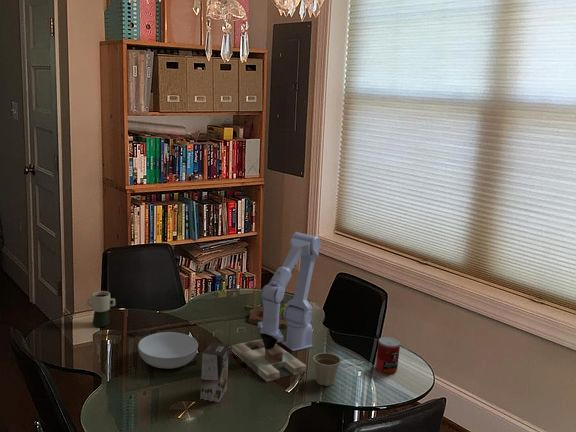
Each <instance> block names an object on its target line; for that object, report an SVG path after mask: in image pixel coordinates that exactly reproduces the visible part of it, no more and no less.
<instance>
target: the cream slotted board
mask: <svg viewBox="0 0 576 432" xmlns="http://www.w3.org/2000/svg"><path fill="white" fill-rule="evenodd" d="M275 347H276V348H278V349H279V350H281V351H282V352H283V359H282V362H277V363H273V364H271V363H270V362H269V361H267V360H266V359H265V347H264V342H263V340H262V338H261V339H260V338H259V339H256V340H250V341H246V342H240V343H235V344H231V345H230V352H231V351H232V352H233V353H234V354H235V355H234V354H233V353H232V352H231V353H232V354H233V355H234V356H236V355H237V356H238V357H239V358H240V359H241V360H240V359H239V358H238V357H237V356H236V357H237V358H238V359H239V360H240V361H241V362H243V361H244V362H245V363H246V364H247V365H246V364H245V363H244V362H243V363H244V364H245V365H246V366H247V367H249V368H250V367H251V368H252V369H253V370H252V369H251V368H250V369H251V370H252V371H254V372H255V373H256V374H257V375H258V376H259V377H261V378H262V379H263V380H264V381H265V382H270V381H275V380H280V379H284V378H287V377H290V376H291V377H292V376H294V375H295V376H296V375H299V374H303V373H306V371H307V365H306V364H305V363H304V362H302V361H300V359H298V358H297V357H295V356H294V355H293V354H291V353H290V352H288V351H286V350H285V349H284V348H282V347H281V346H280V345H278V344H277V343H276V344H275V346H274V348H275Z"/></svg>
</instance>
